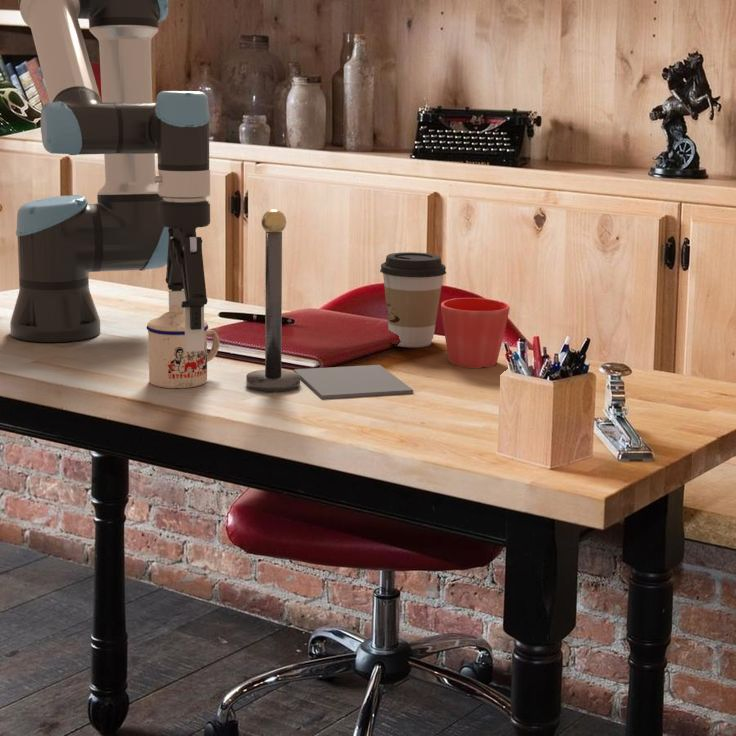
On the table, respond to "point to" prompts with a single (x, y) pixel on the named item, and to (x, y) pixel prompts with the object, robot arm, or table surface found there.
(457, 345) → the flower pot
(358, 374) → the mat
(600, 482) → the table surface
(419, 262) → the coffee cup
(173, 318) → the teacup with lid
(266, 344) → the post
